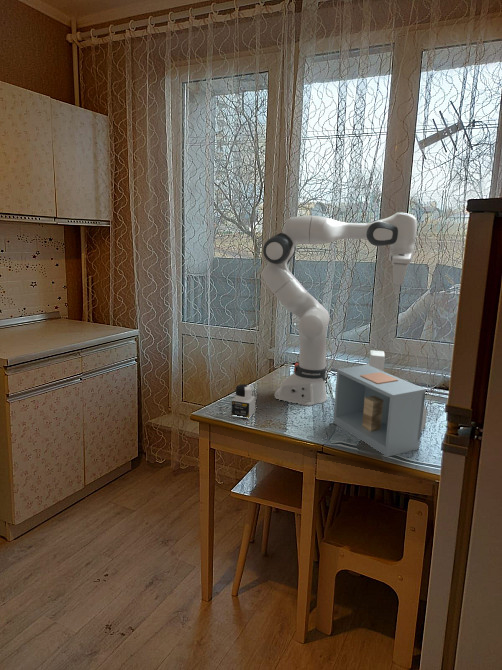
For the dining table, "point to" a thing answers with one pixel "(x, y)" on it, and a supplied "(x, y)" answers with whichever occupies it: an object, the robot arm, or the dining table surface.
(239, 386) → the medicine bottle
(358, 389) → the cubby
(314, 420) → the dining table surface
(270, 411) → the dining table surface
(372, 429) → the oak block
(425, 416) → the tea bag
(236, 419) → the dining table surface
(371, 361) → the skincare box
